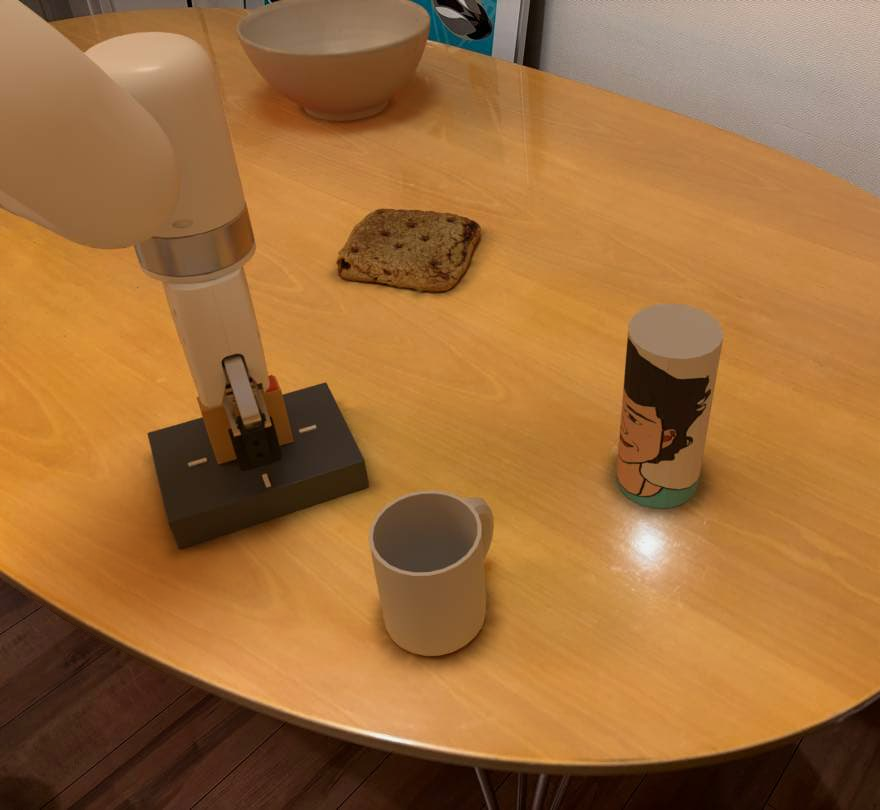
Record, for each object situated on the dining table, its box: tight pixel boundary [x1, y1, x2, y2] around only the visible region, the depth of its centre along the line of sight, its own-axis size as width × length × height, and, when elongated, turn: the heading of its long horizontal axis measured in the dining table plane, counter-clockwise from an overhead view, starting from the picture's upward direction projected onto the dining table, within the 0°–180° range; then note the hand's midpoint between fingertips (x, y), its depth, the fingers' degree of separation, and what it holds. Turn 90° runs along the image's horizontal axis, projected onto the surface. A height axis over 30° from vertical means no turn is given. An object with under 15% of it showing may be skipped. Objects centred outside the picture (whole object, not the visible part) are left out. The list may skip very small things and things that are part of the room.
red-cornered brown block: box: [196, 374, 294, 464], centre depth 69 cm, size 6×2×6 cm, turn 116°
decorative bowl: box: [235, 0, 431, 122], centre depth 128 cm, size 27×27×12 cm
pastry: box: [335, 208, 482, 294], centre depth 98 cm, size 17×17×3 cm
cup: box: [368, 490, 495, 657], centre depth 60 cm, size 7×10×9 cm
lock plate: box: [147, 381, 370, 550], centre depth 72 cm, size 15×11×3 cm
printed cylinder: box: [615, 302, 724, 510], centre depth 68 cm, size 7×7×15 cm
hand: (249, 431), depth 70 cm, fingers open, 7 cm apart
